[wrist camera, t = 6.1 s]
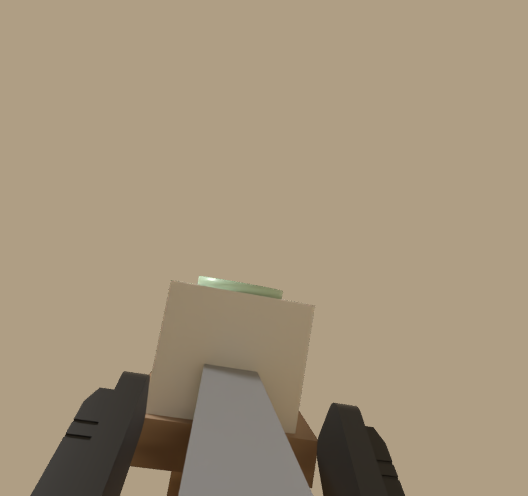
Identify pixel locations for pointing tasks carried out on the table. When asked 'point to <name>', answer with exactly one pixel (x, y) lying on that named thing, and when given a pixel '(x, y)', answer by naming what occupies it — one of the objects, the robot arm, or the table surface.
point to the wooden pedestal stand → (177, 439)
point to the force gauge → (233, 385)
